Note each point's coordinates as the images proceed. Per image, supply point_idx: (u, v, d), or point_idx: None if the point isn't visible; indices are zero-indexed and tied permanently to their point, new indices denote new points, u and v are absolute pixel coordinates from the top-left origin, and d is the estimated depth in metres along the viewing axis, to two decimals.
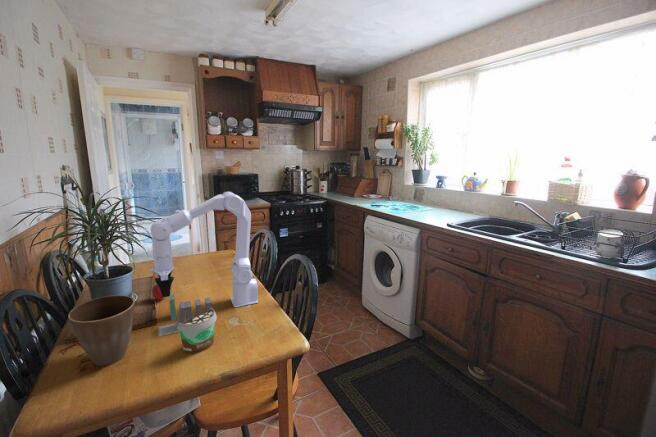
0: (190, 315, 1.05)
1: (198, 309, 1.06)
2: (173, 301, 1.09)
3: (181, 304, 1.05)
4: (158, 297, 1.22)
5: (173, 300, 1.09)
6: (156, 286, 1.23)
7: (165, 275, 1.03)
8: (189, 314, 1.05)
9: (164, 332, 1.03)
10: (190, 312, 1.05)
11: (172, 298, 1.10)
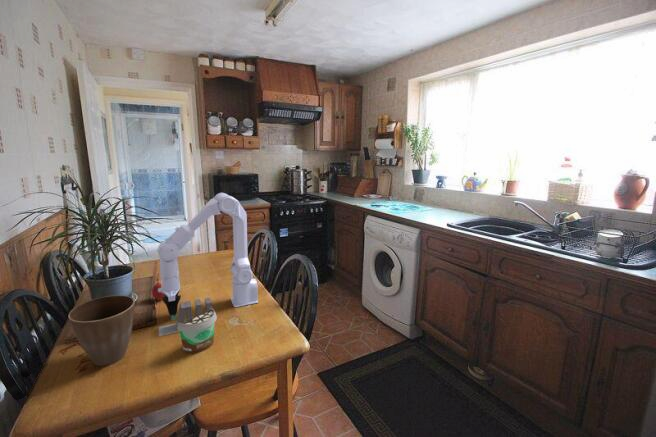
0: (190, 315, 1.05)
1: (198, 309, 1.06)
2: None
3: (181, 304, 1.05)
4: (158, 297, 1.22)
5: None
6: (156, 286, 1.23)
7: (173, 296, 1.04)
8: (189, 314, 1.05)
9: (164, 332, 1.03)
10: (190, 312, 1.05)
11: None
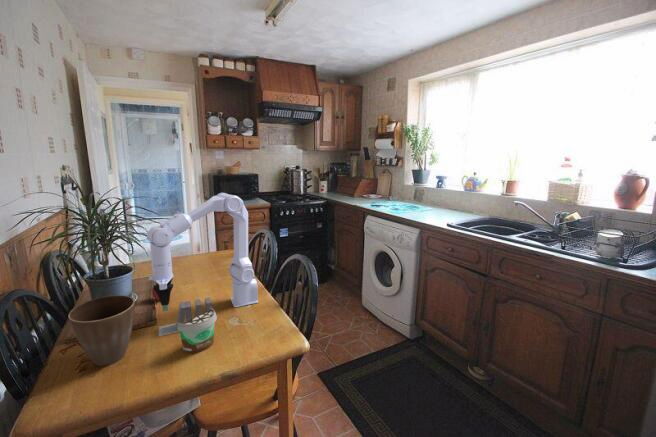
0: (190, 315, 1.05)
1: (198, 309, 1.06)
2: None
3: (181, 304, 1.05)
4: (158, 297, 1.22)
5: None
6: None
7: (164, 284, 0.97)
8: (189, 314, 1.05)
9: (164, 332, 1.03)
10: (190, 312, 1.05)
11: None
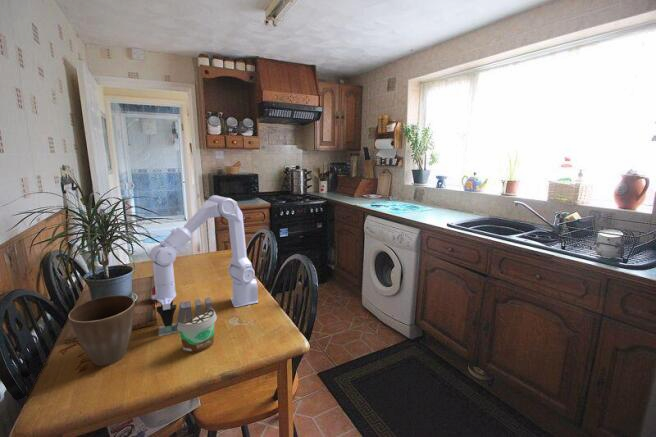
0: (190, 315, 1.05)
1: (198, 309, 1.06)
2: None
3: (181, 304, 1.05)
4: None
5: None
6: None
7: (167, 304, 0.96)
8: (189, 314, 1.05)
9: (164, 332, 1.03)
10: (190, 312, 1.05)
11: None
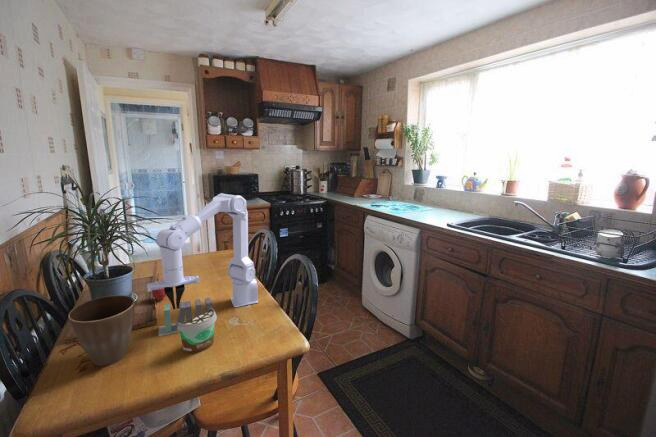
0: (190, 315, 1.05)
1: (198, 309, 1.06)
2: (168, 312, 1.01)
3: (181, 304, 1.05)
4: (158, 297, 1.22)
5: (168, 311, 1.01)
6: None
7: (147, 286, 0.94)
8: (189, 314, 1.05)
9: (164, 332, 1.03)
10: (190, 312, 1.05)
11: (167, 309, 1.02)
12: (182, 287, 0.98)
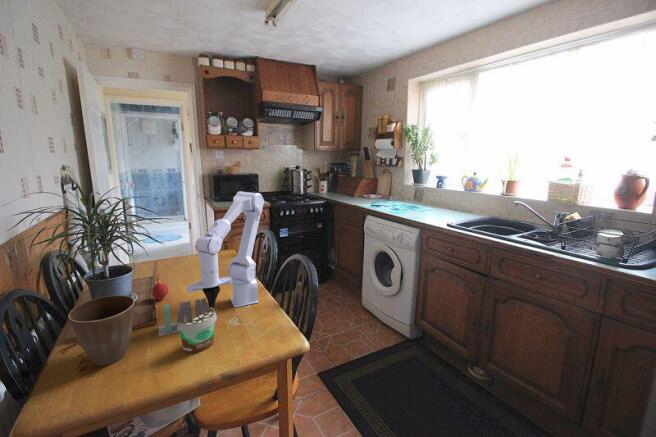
0: (190, 315, 1.05)
1: (198, 309, 1.06)
2: (168, 312, 1.01)
3: (181, 304, 1.05)
4: (158, 297, 1.22)
5: (168, 311, 1.01)
6: (156, 286, 1.23)
7: (188, 288, 1.04)
8: (189, 314, 1.05)
9: (164, 332, 1.03)
10: (190, 312, 1.05)
11: (167, 309, 1.02)
12: (218, 287, 1.08)
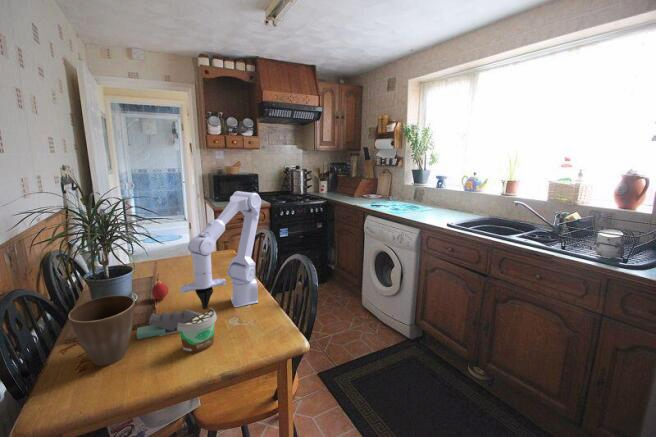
0: (172, 322, 1.03)
1: (177, 320, 1.03)
2: (139, 335, 0.99)
3: (150, 319, 1.02)
4: (158, 297, 1.22)
5: (138, 335, 0.99)
6: (156, 286, 1.23)
7: (180, 288, 1.03)
8: (170, 323, 1.02)
9: None
10: (169, 321, 1.02)
11: None
12: (211, 289, 1.07)
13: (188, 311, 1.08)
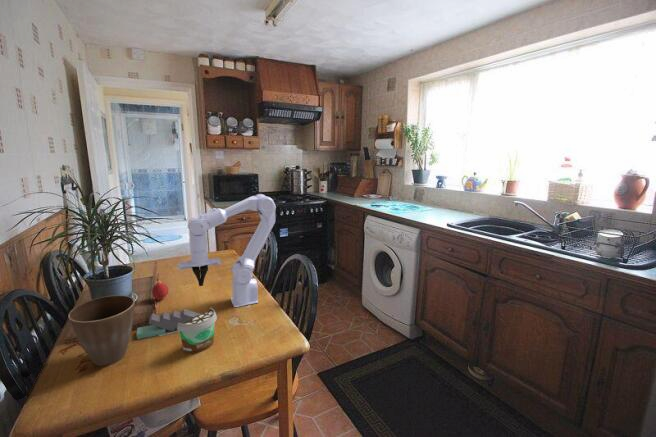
0: (172, 322, 1.03)
1: (176, 320, 1.03)
2: (139, 335, 0.99)
3: (150, 319, 1.02)
4: (158, 297, 1.22)
5: (138, 335, 0.99)
6: (156, 286, 1.23)
7: None
8: (170, 323, 1.02)
9: None
10: (169, 321, 1.02)
11: None
12: (206, 267, 1.15)
13: (187, 311, 1.07)
